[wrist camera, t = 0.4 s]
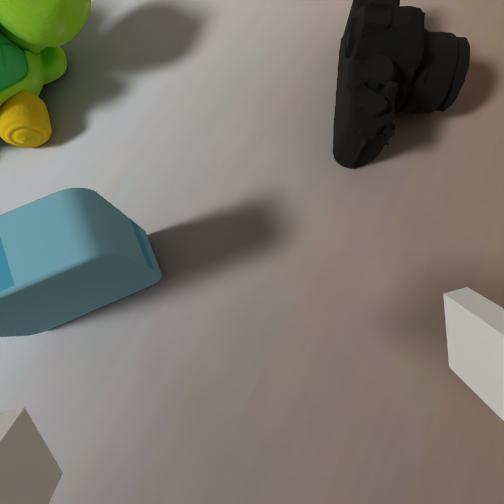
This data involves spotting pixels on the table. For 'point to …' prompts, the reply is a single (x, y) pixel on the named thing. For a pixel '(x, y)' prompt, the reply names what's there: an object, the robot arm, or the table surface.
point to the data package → (68, 260)
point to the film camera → (390, 75)
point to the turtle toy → (33, 62)
